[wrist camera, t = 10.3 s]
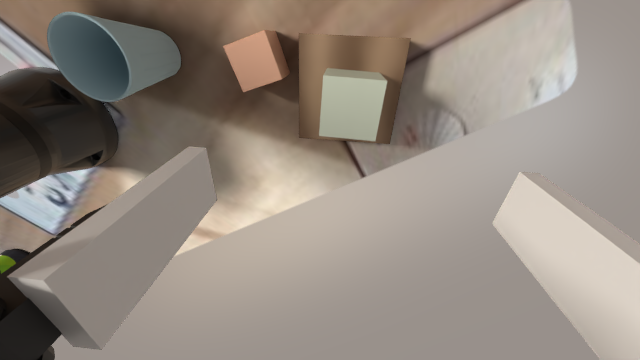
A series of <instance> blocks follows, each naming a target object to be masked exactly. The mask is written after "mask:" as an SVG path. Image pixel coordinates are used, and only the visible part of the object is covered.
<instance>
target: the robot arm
mask: <svg viewBox="0 0 640 360" xmlns="http://www.w3.org/2000/svg"><path fill="white" fill-rule="evenodd" d="M117 145H118V136H117V131H116V127H115V124H114V122H113V120H112V118H111V116H110V114H109V112H108V111H107V109H106V108H105V107H104V105H103V104H102V103H101V101H99V100H96V99H93V98H91V97H89V96H87V95H85V94H84V93H82V92H81V91H79V90H78V89H77V88H75V87H74V86H73V85H72V84H71V83H70V82H69V81H68V80H67V79H66V78H65V77H64V75H63V74H62V73H61V72H60V71H57V70H54V69H50V68H44V67H34V68H24V69H17V70H13V71H10V72H8V73H6V74H4V75H2V76H0V198H2V197H4V196H6V195H8V194H10V193H12V192H14V191H16V190H18V189H21V188H23V187H25V186H27V185H29V184H31V183H33V182H35V181H37V180H39V179H41V178H44V177H46V176H48V175H54V174H59V173H65V172H71V171H77V170H83V169H88V168H92V167H95V166H97V165H99V164H101V163H103V162H105V161H107V160H109V159H110V158H111V157H112V156H113V155H114V153H115V152H116V149H117ZM216 200H217V197H216V192H215V187H214V183H213V178H212V173H211V168H210V164H209V159H208V154H207V149H206V148H204V147H191V146H189V147H187V148H186V149H185V150H183V151H182V152H180V153H179V154H178V155H176V156H175V157H173V158H172V159H171V160H169V161H168V162H166V163H165V164H164V165H162V166H161V167H159V168H158V169H157V170H155V171H154V172H152V173H151V174H150V175H148V176H147V177H145V178H144V179H143V180H141V181H140V182H138V183H137V184H136V185H134V186H133V187H131V188H130V189H129V190H127V191H126V192H124V193H123V194H122V195H120V196H119V197H117V198H116V199H115V200H113V201H112V202H110V203H109V204H107V205H105V206H103V207H101V208H99V209H97V210H94V211H92V212H90V213H88V214H86V215H85V216H84V217H82V218H81V219H79V220H78V221H76V222H75V223H73V224H72V225H71V227H70V228H66V229H65V230H63V231H62V232H61V233H59V234H58V235H56V238H52V239H50V240H49V241H48V242H46V243H45V244H43V245H42V246H40V247H39V248H38V249H36V250H35V251H33V252H32V253H30V254H29V255H27V256H26V257H25V258H23V259H22V260H20V261H19V262H17V263H16V264H14V265H13V266H12V267H10V268H9V269H7V270H6V271H4V272H3V273H2V274H0V360H54V358H55V354H54V348H53V347H52V346H51V345H52V344H53V343H54V342H55V341H56V339H57V338H58V337H59V336H60V335H61V334H62V335H63V336H64V337H65V338H66V339H67V340H68V342H69V343H70V344H71V345H72V346H73V347H82V348H91V349H99V350H102V349H103V347H104V346H105V345H106V343H107V342H108V341H109V339H110V338H111V337H112V336H113V334H114V333H115V332H116V330H117V329H118V328H119V326H120V325H121V324H122V322H123V321H124V320H125V319H126V317H127V316H128V315H129V314H130V312H131V311H132V310H133V308H134V307H135V306H136V304H137V303H138V302H139V301H140V299H141V298H142V297H143V295H144V294H145V293H146V291H147V290H148V289H149V287H150V286H151V285H152V284H153V282H154V281H155V280H156V278H157V277H158V276H159V275H160V273H161V272H162V271H163V269H164V268H165V267H166V265H167V264H168V263H169V262H170V260H171V259H172V258H173V256H174V255H175V254H176V252H177V251H178V250H179V249H180V247H181V246H182V245H183V243H184V242H185V241H186V239H187V238H188V237H189V236H190V234H191V233H192V232H193V230H194V229H195V228H196V226H197V225H198V224H199V223H200V221H201V220H202V219H203V217H204V216H205V215H206V213H207V212H208V211H209V210H210V208H211V207H212V206H213V204H214V203H215V202H216ZM492 224H493V226H494V227H495V228H496V229H497V231H498V232H499V233H500V234H501V236H502V237H503V238H504V239H505V241H506V242H507V243H508V244H509V246H510V247H511V248H512V249H513V251H514V252H515V253H516V254H517V256H518V257H519V258H520V259H521V261H522V262H523V263H524V265H525V266H526V267H527V268H528V270H529V271H530V272H531V273H532V275H533V276H534V277H535V278H536V279H537V281H538V282H539V283H540V285H541V286H542V287H543V288H544V289H545V291H546V292H547V293H548V294H549V296H550V297H551V298H552V300H553V301H554V302H555V303H556V305H557V306H558V307H559V308H560V310H561V311H562V312H563V313H564V315H565V316H566V317H567V318H568V320H569V321H570V322H571V323H572V325H573V326H574V327H575V328H576V330H577V331H578V332H579V334H580V335H581V336H582V337H583V339H584V340H585V341H586V342H587V344H588V345H589V346H590V347H591V349H592V350H593V351H594V352H595V354H596V355H597V356H598V357H599V359H600V360H640V244H639V243H638V242H637V241H635V240H634V239H632V238H631V237H630V236H628V235H627V234H625V233H624V232H622V231H621V230H619V229H618V228H617V227H615V226H614V225H612V224H611V223H609V222H608V221H607V220H605V219H604V218H602V217H601V216H599V215H598V214H596V213H595V212H594V211H592V210H591V209H589V208H588V207H587V206H585V205H584V204H582V203H581V202H579V201H578V200H577V199H575V198H574V197H572V196H571V195H569V194H568V193H566V192H565V191H564V190H562V189H561V188H559V187H558V186H557V185H555V184H554V183H552V182H551V181H549V180H548V179H546V178H545V177H544V176H542V175H541V174H539V173H527V172H519V174H518V176H517V178H516V180H515V182H514V183H513V185H512V187H511V189H510V191H509V193H508V195H507V197H506V198H505V200H504V202H503V204H502V206H501V208H500V210H499V211H498V213H497V215H496V217H495V219H494V221H493V222H492Z"/></svg>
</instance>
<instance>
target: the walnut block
mask: <svg viewBox="0 0 640 360" xmlns="http://www.w3.org/2000/svg"><path fill="white" fill-rule="evenodd" d="M410 39H411V38H389V37H367V36H345V35H323V34H301V33H299V138H311V139H325V140H340V141H355V142H369V143H384V144H390V140H391V135H392V130H393V124H394V119H395V114H396V109H397V104H398V99H399V94H400V89H401V84H402V79H403V74H404V69H405V64H406V59H407V54H408V49H409V44H410ZM327 68H332V69H343V70H355V71H366V72H378V73H380V74H381V75H382V76H383V77H384V78H385V79H386V80H387V85H386V90H385V95H384V100H383V105H382V110H381V115H380V120H379V125H378V130H377V135H376V140H375V141H367V140H357V139H346V138H336V137H326V136H319V128H320V114H321V100H322V86H323V75H324V73H325V71H326V69H327Z"/></svg>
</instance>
